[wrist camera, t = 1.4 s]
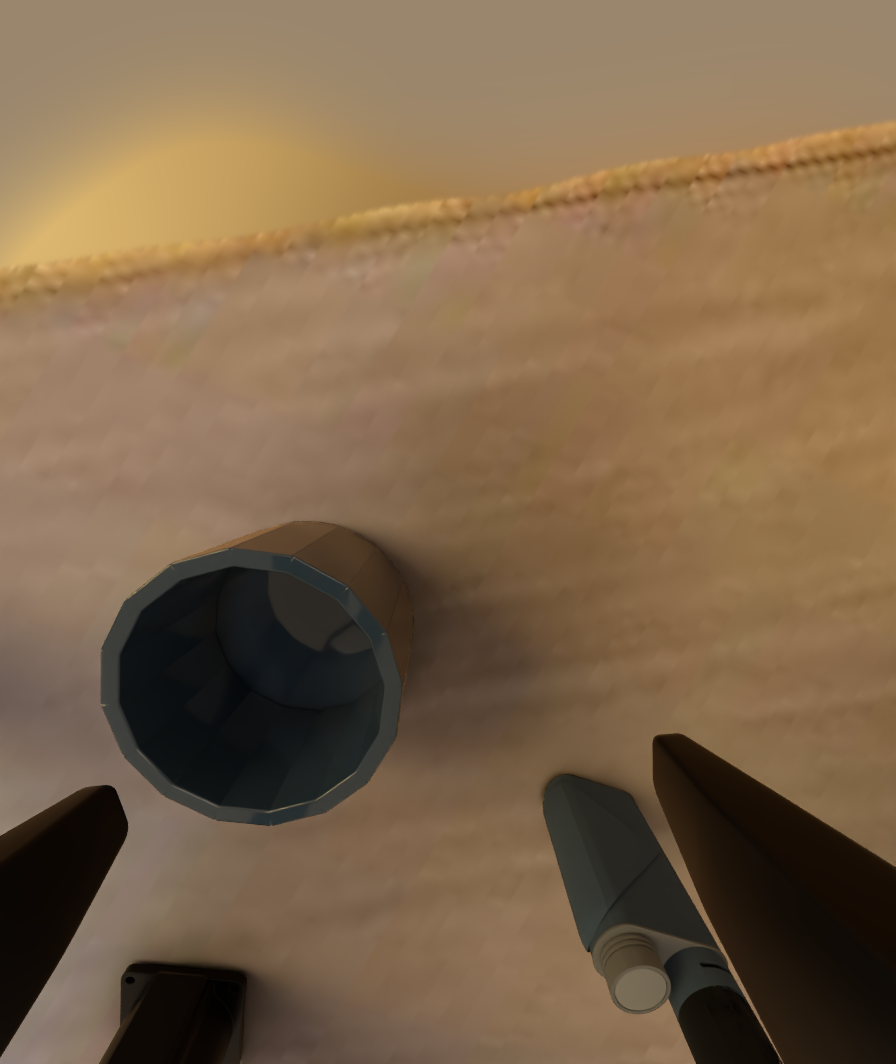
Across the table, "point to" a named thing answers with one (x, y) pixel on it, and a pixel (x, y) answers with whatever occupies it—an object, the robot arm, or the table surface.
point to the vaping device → (646, 923)
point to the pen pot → (262, 673)
